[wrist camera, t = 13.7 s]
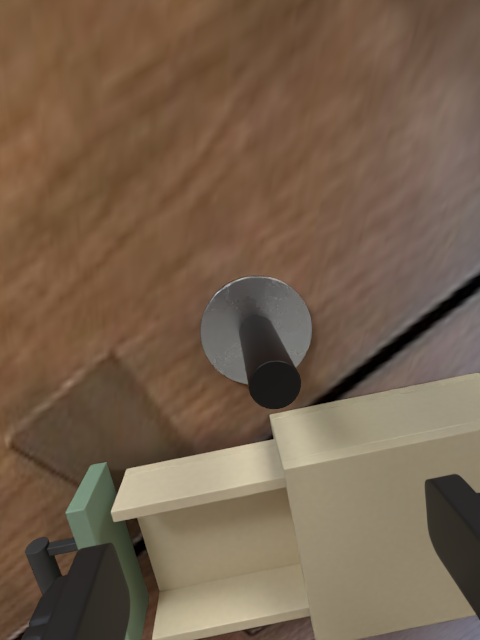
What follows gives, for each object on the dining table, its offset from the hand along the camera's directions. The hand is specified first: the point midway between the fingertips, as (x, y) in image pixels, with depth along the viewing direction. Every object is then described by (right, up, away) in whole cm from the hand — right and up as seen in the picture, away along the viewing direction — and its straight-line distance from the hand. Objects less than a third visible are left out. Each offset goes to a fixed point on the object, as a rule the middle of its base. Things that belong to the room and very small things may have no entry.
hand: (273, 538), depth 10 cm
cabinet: (+10, -6, +20) cm, 24 cm away
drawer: (-5, -10, +19) cm, 22 cm away
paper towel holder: (0, +5, +17) cm, 18 cm away
